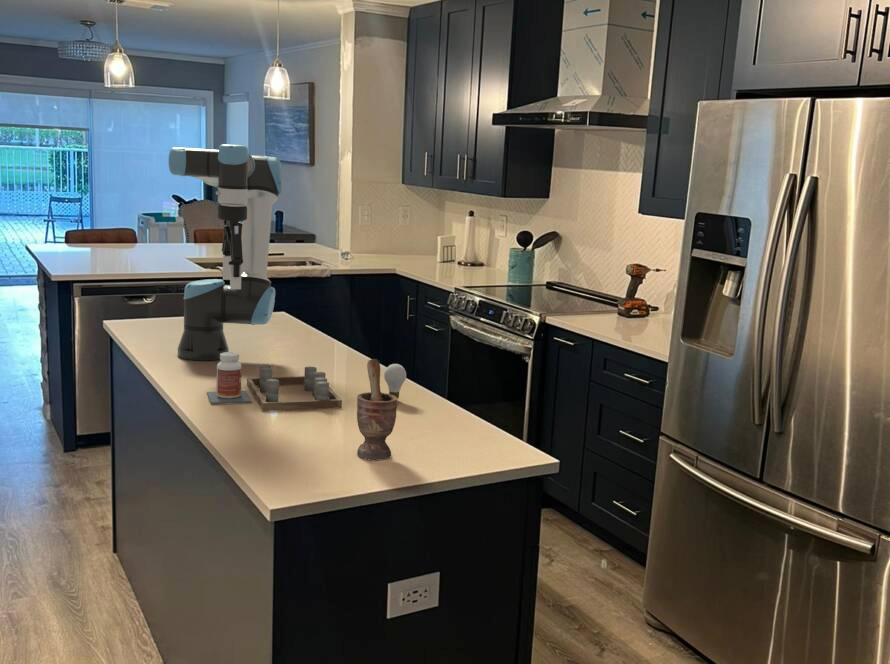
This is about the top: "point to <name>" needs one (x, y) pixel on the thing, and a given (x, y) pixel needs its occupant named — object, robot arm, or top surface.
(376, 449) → the mortar and pestle
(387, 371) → the light bulb
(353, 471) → the top surface
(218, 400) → the mat
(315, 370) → the tray
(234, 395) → the pill bottle
